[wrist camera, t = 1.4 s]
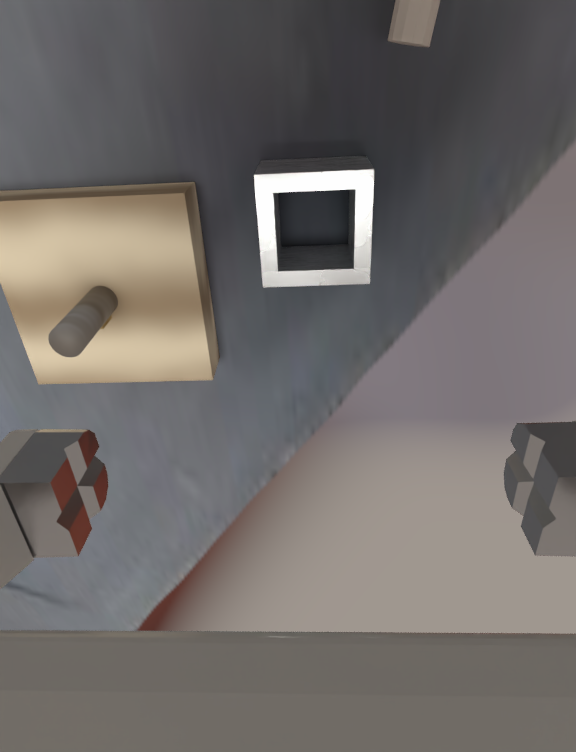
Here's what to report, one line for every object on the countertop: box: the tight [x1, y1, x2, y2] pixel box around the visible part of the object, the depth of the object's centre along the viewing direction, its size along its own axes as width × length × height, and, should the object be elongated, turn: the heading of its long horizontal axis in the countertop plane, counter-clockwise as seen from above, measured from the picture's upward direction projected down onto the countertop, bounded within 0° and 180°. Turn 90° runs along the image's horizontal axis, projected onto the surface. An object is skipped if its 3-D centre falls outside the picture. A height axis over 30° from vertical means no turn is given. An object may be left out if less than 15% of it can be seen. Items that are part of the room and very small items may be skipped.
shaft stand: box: [0, 182, 220, 384], centre depth 29 cm, size 12×12×8 cm
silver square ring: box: [254, 155, 374, 287], centre depth 28 cm, size 6×6×4 cm
